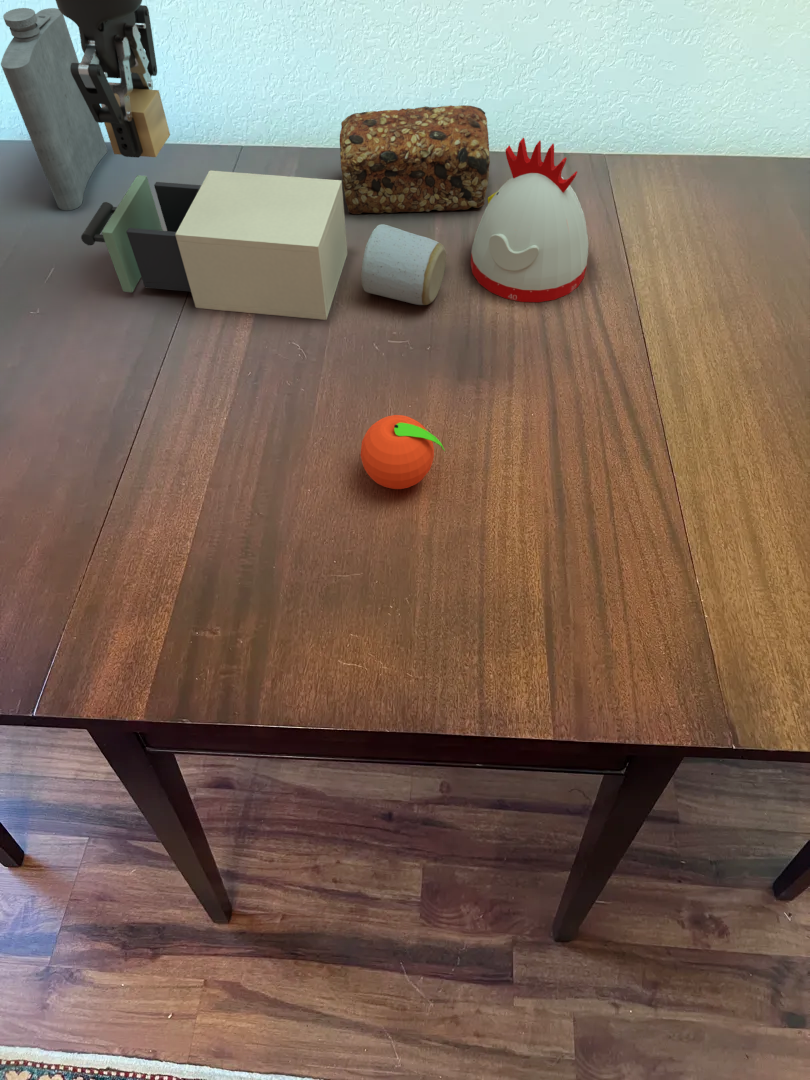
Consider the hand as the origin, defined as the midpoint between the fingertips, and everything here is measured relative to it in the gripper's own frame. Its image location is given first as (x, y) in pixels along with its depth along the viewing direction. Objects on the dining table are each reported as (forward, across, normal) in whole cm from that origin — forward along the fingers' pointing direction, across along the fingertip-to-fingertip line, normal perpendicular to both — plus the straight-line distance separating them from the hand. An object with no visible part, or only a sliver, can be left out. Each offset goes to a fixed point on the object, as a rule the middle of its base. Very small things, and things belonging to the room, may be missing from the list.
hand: (141, 141), depth 81 cm
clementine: (+17, +27, +32) cm, 45 cm away
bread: (+17, -22, +25) cm, 37 cm away
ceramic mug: (+17, -2, +27) cm, 32 cm away
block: (0, 0, 0) cm, 0 cm away
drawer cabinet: (+17, -1, +11) cm, 20 cm away
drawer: (+16, -1, 0) cm, 16 cm away
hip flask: (+17, -19, -21) cm, 33 cm away
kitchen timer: (+17, -8, +41) cm, 45 cm away
